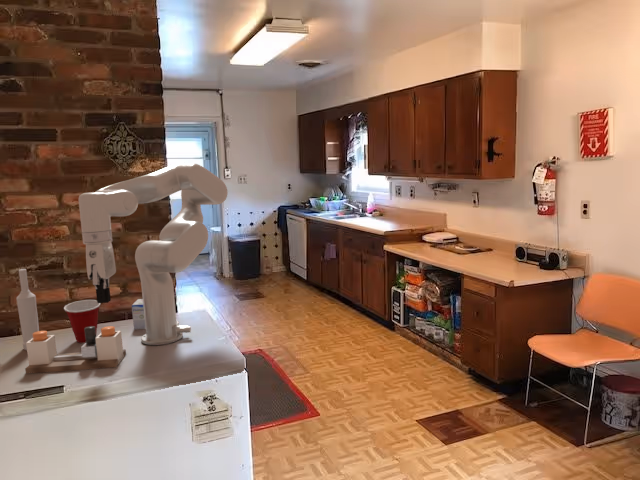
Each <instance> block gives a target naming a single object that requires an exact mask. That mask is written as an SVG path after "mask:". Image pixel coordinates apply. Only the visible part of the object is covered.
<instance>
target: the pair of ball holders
mask: <svg viewBox="0 0 640 480" xmlns="http://www.w3.org/2000/svg"><path fill="white" fill-rule="evenodd" d="M47 336H48V339H47V340H44V341H36V342H34V341H33V338H32V339H31V340H29V341H28V342H27V343H26V346H27V350H26V351H27V360H28V366H29V365H40V364H50V363H51V362H52V361H53V360H54V357H55V356H57V354H58V352H57V343H56V337H55V334H51V335H48V334H47ZM95 339H96V348H97V357H98V360H111V359H118V361H119V362H118V365H119V364H120V362H121V361H122V360H123V359H124V358H125V356H124V354H122V353H123V350H124V348H123V347H124V346H123V337H122V330H115V335H114V336H110V337H102V335H101V332H100V333H99V334H98V335H96V338H95ZM122 357H123V358H122ZM119 359H120V360H121V359H122V360H121V361H120V360H119Z"/></svg>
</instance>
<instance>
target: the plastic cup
mask: <svg viewBox="0 0 640 480" xmlns="http://www.w3.org/2000/svg"><path fill="white" fill-rule="evenodd" d="M101 304H102V303H97V299H83V300H78V301H73V302H71V303H68V304H65V305H64V307H63V310H64V311H65V312H66V315H67V317H68V319H69V322H70V326H71V329H72V333H73V335H74V338H75V340H76V342H77V343H80V344H83V343H84V344H85V343H86V338H85V330H84V328H86V327H89V326H95V330H96V335H97V334H98V333H97V331H98V330H97V329H98V322H99V321H98V319H99V318H98V317H99V310H100V306H101Z"/></svg>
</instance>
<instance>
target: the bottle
mask: <svg viewBox="0 0 640 480" xmlns="http://www.w3.org/2000/svg"><path fill="white" fill-rule="evenodd" d="M18 276H19V282H20V290H21V291H19V294H18V295H17V296H16V305H17V311H18V315H19V316H18V317H19V324H20V330H21V335H22V342H23V343H22V348H23V350H24V351H27V346H26V343H27V342H28V341H29V340H31V339H32V338H33V333H34V332H37V331H40V327H39V317H38V316H39V315H38V309H37V308H38V307H37V296H36V294H34V293H33V292H31V290H30V289H29V288H30V287H29V282H28V272H27V269H26V268H21V269H18Z"/></svg>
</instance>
